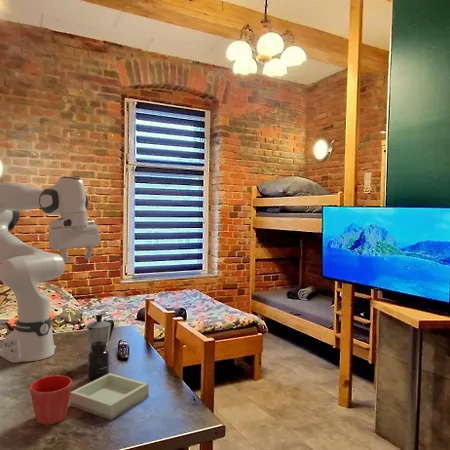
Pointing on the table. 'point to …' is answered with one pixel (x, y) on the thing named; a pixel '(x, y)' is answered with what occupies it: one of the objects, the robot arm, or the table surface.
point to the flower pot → (51, 398)
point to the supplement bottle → (98, 361)
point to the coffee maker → (100, 331)
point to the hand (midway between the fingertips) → (77, 260)
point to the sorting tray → (109, 395)
